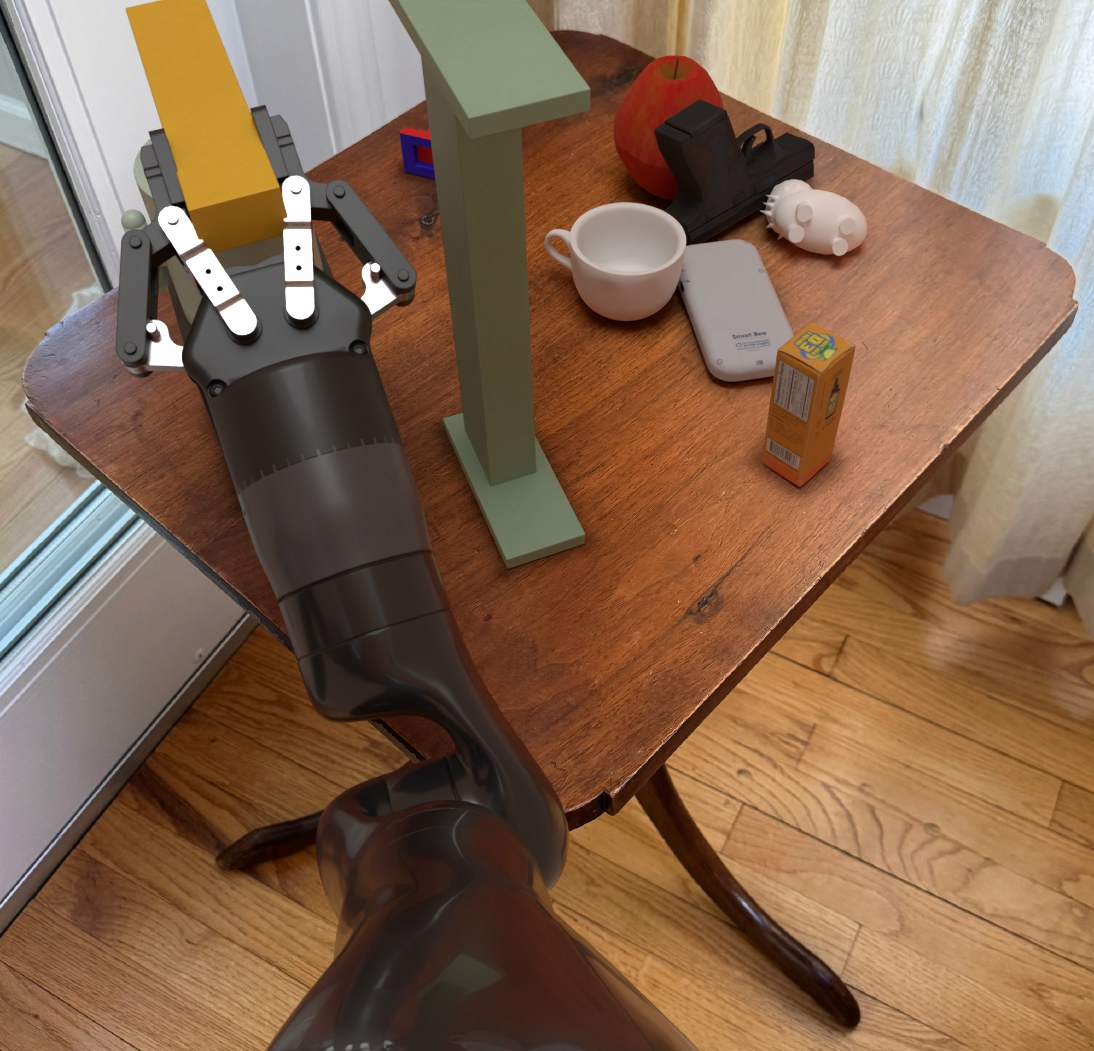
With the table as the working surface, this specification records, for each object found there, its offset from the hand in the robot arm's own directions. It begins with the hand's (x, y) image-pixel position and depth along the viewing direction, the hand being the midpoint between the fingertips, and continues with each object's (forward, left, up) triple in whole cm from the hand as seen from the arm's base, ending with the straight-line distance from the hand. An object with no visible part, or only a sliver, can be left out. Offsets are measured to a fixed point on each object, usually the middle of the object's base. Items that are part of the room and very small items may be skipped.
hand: (209, 128), depth 52 cm
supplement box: (+29, -10, -25) cm, 39 cm away
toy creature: (+39, +6, -22) cm, 45 cm away
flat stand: (+12, -5, -25) cm, 28 cm away
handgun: (+36, +14, -15) cm, 41 cm away
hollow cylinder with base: (0, +4, -25) cm, 25 cm away
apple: (+33, +18, -25) cm, 45 cm away
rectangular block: (0, +4, -3) cm, 4 cm away
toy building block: (+16, +29, -23) cm, 40 cm away
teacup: (+24, +8, -25) cm, 35 cm away
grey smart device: (+31, +3, -23) cm, 38 cm away
